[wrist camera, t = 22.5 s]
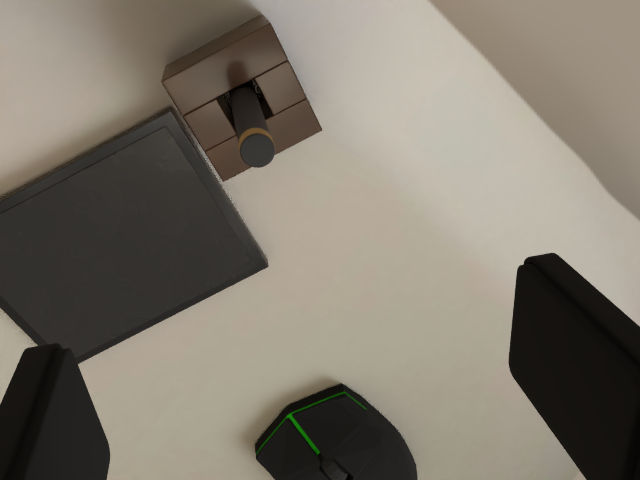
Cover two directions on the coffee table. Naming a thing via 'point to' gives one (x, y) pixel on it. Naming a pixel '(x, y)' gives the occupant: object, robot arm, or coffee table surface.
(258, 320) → the coffee table surface
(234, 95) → the stylus
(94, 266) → the tablet
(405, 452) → the computer mouse
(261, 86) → the holder
